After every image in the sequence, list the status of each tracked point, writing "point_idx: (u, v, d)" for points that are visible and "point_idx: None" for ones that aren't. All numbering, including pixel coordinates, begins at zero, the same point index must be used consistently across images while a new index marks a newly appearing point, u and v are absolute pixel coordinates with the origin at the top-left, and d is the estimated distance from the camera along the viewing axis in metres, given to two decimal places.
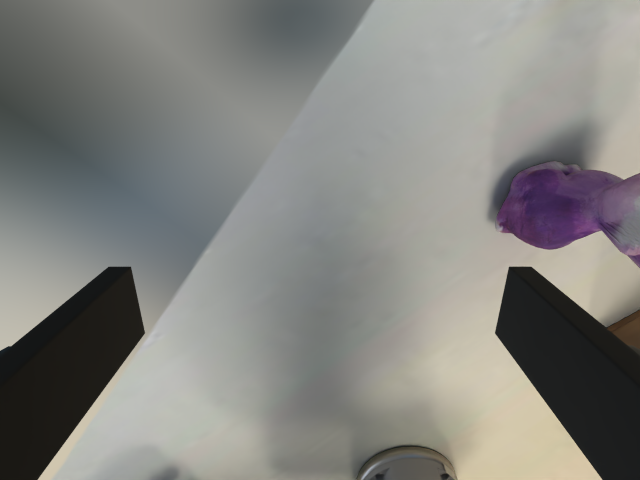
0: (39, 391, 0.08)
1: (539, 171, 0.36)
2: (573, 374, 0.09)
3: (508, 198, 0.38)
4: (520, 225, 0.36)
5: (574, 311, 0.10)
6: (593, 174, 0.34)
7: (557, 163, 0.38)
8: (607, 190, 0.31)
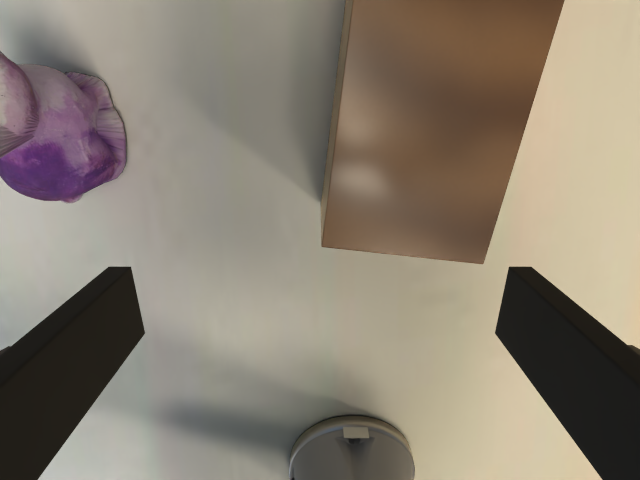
0: (39, 391, 0.08)
1: None
2: (573, 374, 0.09)
3: None
4: None
5: (574, 311, 0.10)
6: None
7: None
8: None
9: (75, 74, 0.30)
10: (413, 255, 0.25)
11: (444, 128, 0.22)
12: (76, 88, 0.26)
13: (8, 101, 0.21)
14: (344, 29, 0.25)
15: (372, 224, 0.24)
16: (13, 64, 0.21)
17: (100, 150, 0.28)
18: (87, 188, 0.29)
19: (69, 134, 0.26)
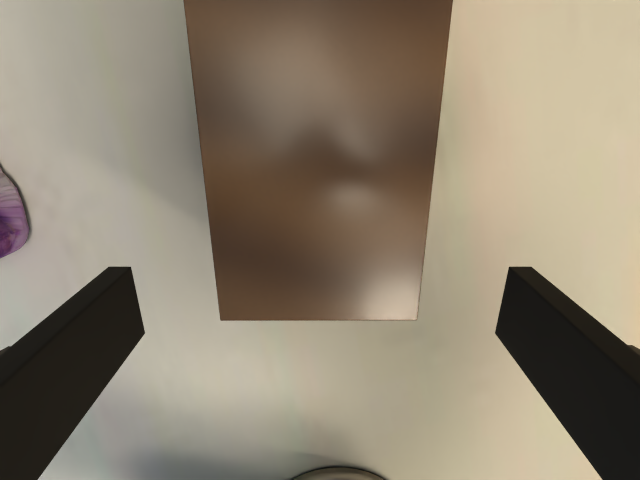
0: (39, 391, 0.08)
1: None
2: (573, 374, 0.09)
3: None
4: None
5: (574, 311, 0.10)
6: None
7: None
8: None
9: None
10: (330, 319, 0.21)
11: (335, 171, 0.18)
12: None
13: None
14: None
15: (274, 289, 0.20)
16: None
17: None
18: None
19: None
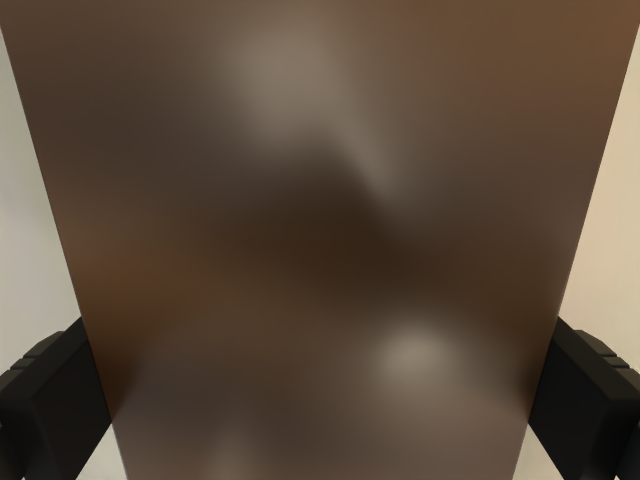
0: (93, 371, 0.09)
1: None
2: None
3: None
4: None
5: None
6: None
7: None
8: None
9: None
10: None
11: (356, 254, 0.08)
12: None
13: None
14: None
15: (233, 463, 0.10)
16: None
17: None
18: None
19: None
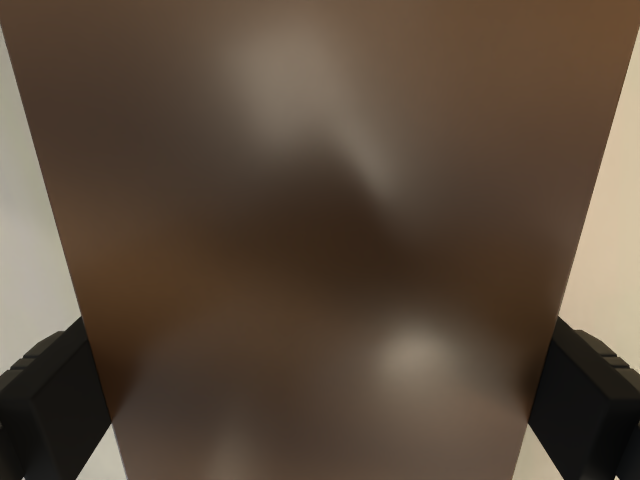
0: (94, 371, 0.09)
1: None
2: None
3: None
4: None
5: None
6: None
7: None
8: None
9: None
10: None
11: (356, 254, 0.08)
12: None
13: None
14: None
15: (232, 463, 0.10)
16: None
17: None
18: None
19: None
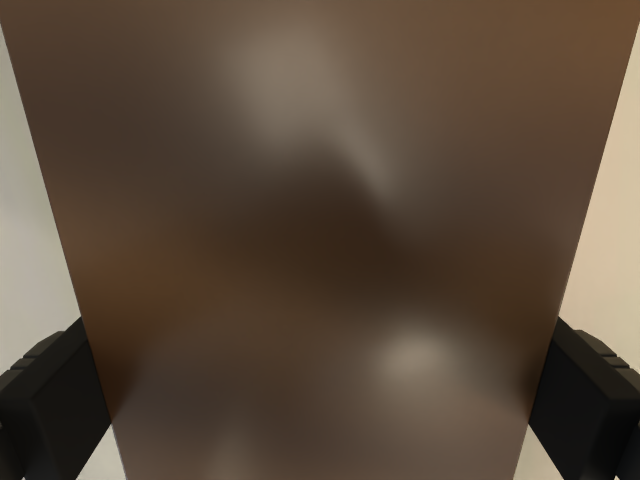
0: (93, 371, 0.09)
1: None
2: None
3: None
4: None
5: None
6: None
7: None
8: None
9: None
10: None
11: (356, 253, 0.08)
12: None
13: None
14: None
15: (232, 463, 0.10)
16: None
17: None
18: None
19: None
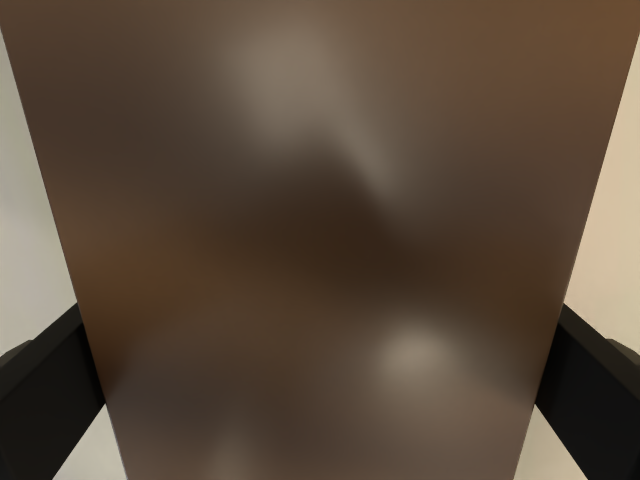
0: (61, 382, 0.09)
1: None
2: (554, 367, 0.10)
3: None
4: None
5: None
6: None
7: None
8: None
9: None
10: None
11: (357, 254, 0.08)
12: None
13: None
14: None
15: (233, 463, 0.10)
16: None
17: None
18: None
19: None
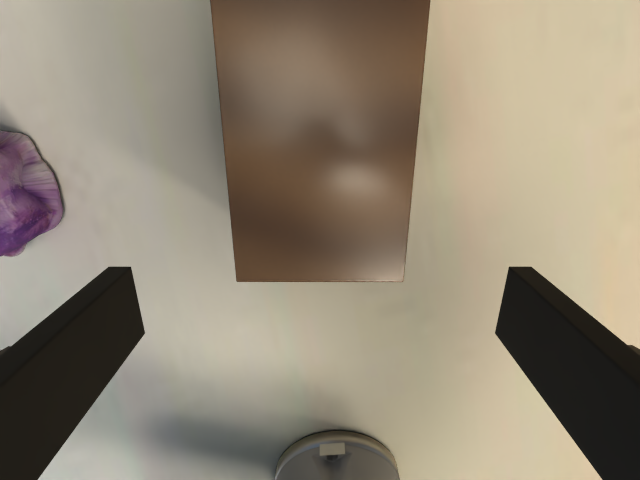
0: (39, 391, 0.08)
1: None
2: (573, 374, 0.09)
3: None
4: None
5: (574, 311, 0.10)
6: None
7: None
8: None
9: None
10: (330, 280, 0.24)
11: (333, 153, 0.21)
12: None
13: None
14: None
15: (282, 254, 0.24)
16: None
17: (27, 205, 0.29)
18: (20, 243, 0.30)
19: None
